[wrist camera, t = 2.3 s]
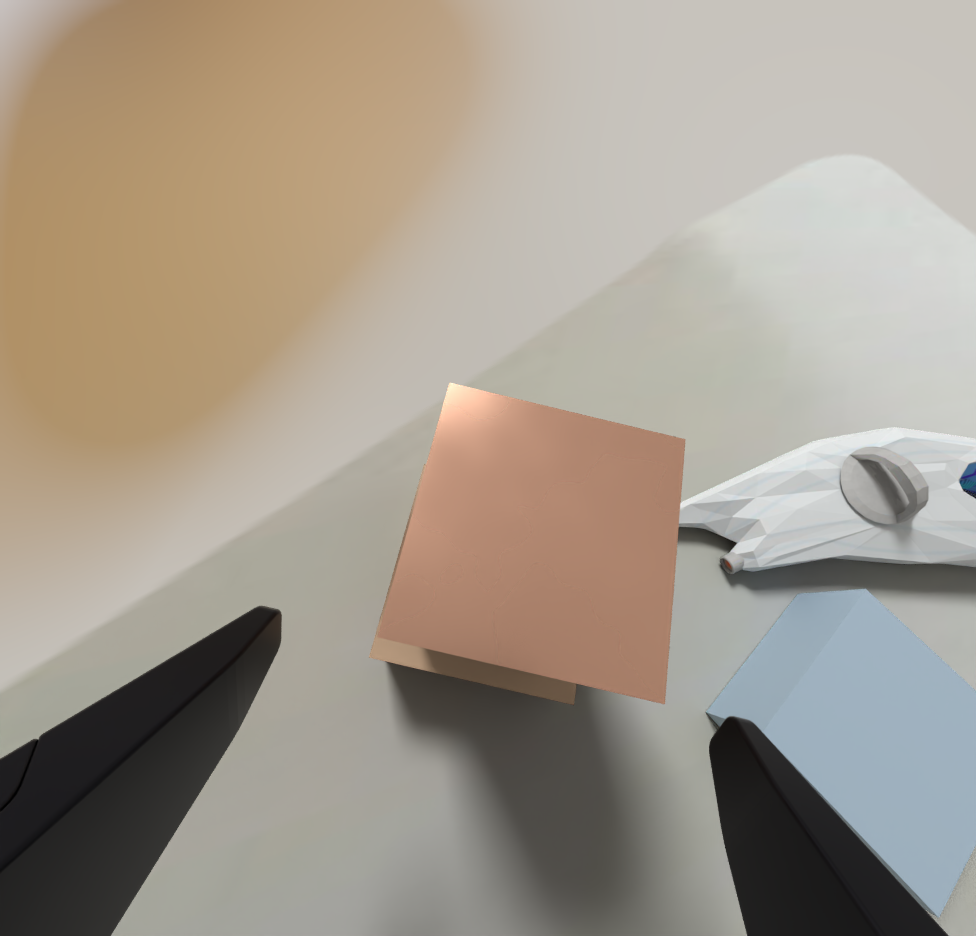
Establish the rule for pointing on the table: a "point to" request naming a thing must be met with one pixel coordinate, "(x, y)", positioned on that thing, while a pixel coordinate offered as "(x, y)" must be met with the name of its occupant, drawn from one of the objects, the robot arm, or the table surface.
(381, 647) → the stand
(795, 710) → the stand
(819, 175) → the table surface
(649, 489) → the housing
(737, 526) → the spaceship
